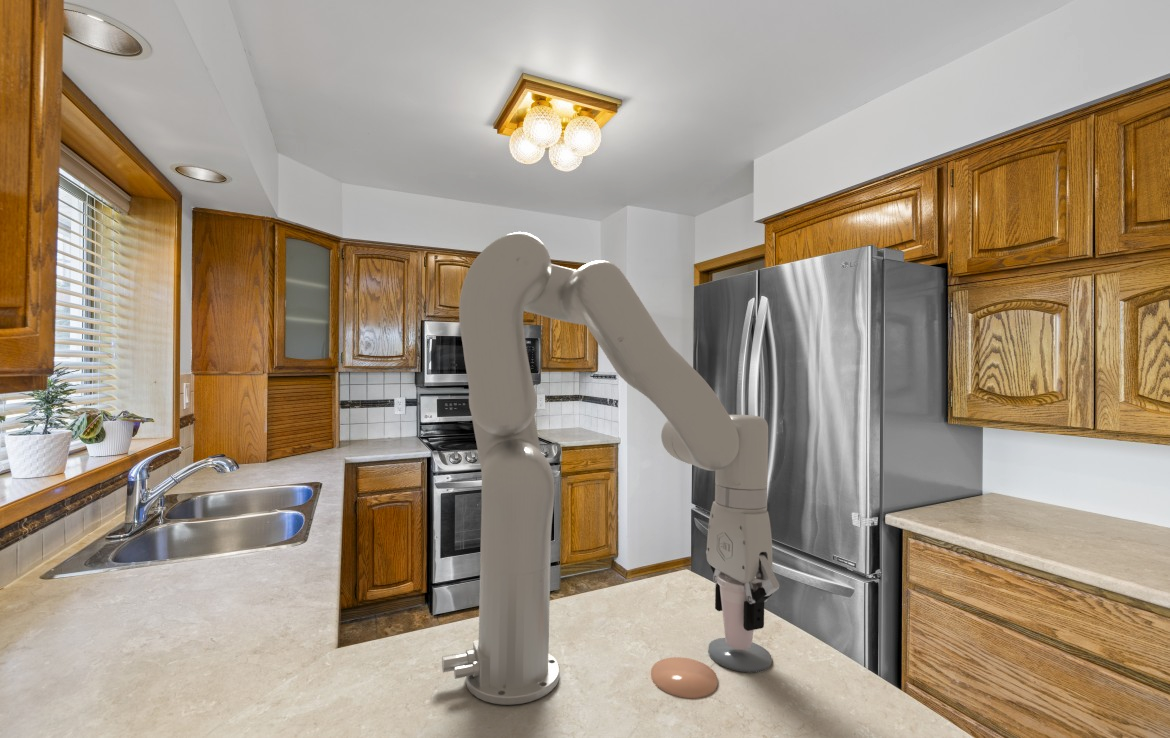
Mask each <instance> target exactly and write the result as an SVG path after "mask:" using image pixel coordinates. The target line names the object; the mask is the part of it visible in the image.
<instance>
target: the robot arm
mask: <svg viewBox="0 0 1170 738" xmlns="http://www.w3.org/2000/svg"><path fill="white" fill-rule="evenodd" d="M458 305H459V306H458V315H459V316H458V317H459V329H460V336H461V342H462V344H461V345H462V348H463V349H462V350H463V351H462V352H463V357H464V365H465V371H466V376H467V383H468V392H469V393H468V407H469V410H470V411H469V412H470V414H471V419H472V426H473V432H474V437H475V441H476V443H475V444H476V448H477V453H478V458H479V465H480V471H481V510H480V511H481V515H480V517H481V518H480V519H481V521H480V548H479V549H480V552H479V553H480V558H479V560H480V561H479V565H480V566H479V567H480V568H479V604H478V605H479V606H478V607H479V608H478V609H479V610H478V639H475V640H473V641H472V648H469V649H466V650H465V652H462V653H458V654H457V653H453V654H448V655H447V654H446V655H442V657H441V669H442V673H444V674H445V673H449V672H453V677H454V679H455V680H456V679H462V678H465V685H466V687H467V689H468V691H469V692H470V693H471V694H472V695H474V696H475V697H476V698H477V699H480V700H482V701H484V702H486V703H489V704H495V705H502V706H505V705H507V706H508V705H509V706H513V705H522V704H526V703H530V702H533V701H535V700H538V699H541V698H543V697H545V696H546V695H548V694H549V693H551V692H552V691H553V690H554V688H556V686H557V684H558V683H559V680H560V672H561V671H560V664H559V662H558V660H557V659H556V658H555V657H554V656H553V655H552V654H550V653H549V650H550V649H549V648H550V647H549V645H550V640H549V639H550V607H551V606H550V603H551V601H550V598H551V597H550V595H551V594H550V593H551V591H550V590H551V554H552V553H551V551H552V549H551V548H552V546H551V545H552V526H553V525H552V524H553V517H554V515H553V514H554V504H555V491H556V487H555V477H554V473H553V470H552V467H551V464H550V462H549V460H548V459H547V458H546V457H545V455H544V454H543V452H541V451H542V450H541V445H540V440H539V434H538V428H537V423H536V413H537V407H538V399H537V392H536V388H535V386H534V382H533V377H532V372H531V367H530V362H529V357H528V356H529V355H528V351H527V350H528V349H527V344H526V335H525V327H524V312H526V313H529V314H534V315H537V316H542V317H544V318H545V317H546V318H549V319H553V320H557V321H562V322H564V323H570V324H576V325H581V326H585V327H587V330H589V332H590V333H591V334H592V336H593V338H594V339H595V341H596V342H597V344H598V345H599V347H600V348H601V349H602V352H603V353H604V355H605V356H606V358H607V359H608V361H609V362H610V364H611V366H613V369H614V370H615V372H616V373H617V375H618V376H619V377H620V378H621V379H623V381H624V382H626V383H627V384H628V385H629V386H630V387H631V388H633V389H634V390H636V391H638V392H639V393H641V394H642V395H644V396H645V397H646V398H648V399H649V400H650V401H651V402H652V403H653V404H654V406H656V408H657V409H659V411H660V412H661V413H662V415H663V416H664V417H665V418H666V419H667V421H666V422H665V423H664V424H663V426H662V429H661V433H660V437H661V438H660V439H661V442H662V445H663V447H664V449H665V450H666V452H667V453H669V455H670V456H671V457H673V458H674V459H677V460H678V461H681V462H683V463H685V464H688V465H692V466H695V467H697V468H699V469H702V470H705V471H710V472H711V471H713V472H715V473H714V474H715V477H714V478H715V479H714V480H715V481H714V483H715V484H714V487H715V488H714V489H715V490H714V501H712V505H711V508H710V512H709V518H708V527H707V536H706V537H707V538H706V539H707V540H706V550H705V554H706V561H707V563H708V564H709V565H710V568H711V570H712V573H713V576H712V580H713V582H714V583H715V586H714V587H715V592H714V593H715V596H714V598H715V599H714V600H715V602H714V608H715V609H714V610H716V611H718V612H722V603H721V595H720V585H719V584H718V583H717V580H718V574H719V573H724V574H726V575H728V576H730V577H731V578H733V579H735V580H737V581H739V582H741V583H744V587H745V591H746V596H747V601H744V629H745V630H747V631H750V630H754V631H756V630H759V629H763V628H764V626H765V602H767V601H769V598H770V597H771V596H772V595H773V594H774V593H776V592H777V591H778V590H779V589H780V586H781V585H780V583H779V580H778V579H777V577H776V575H775V573H774V571H773V540H772V537H773V536H772V527H771V522H770V521H771V519H770V515H769V511H768V475H769V474H768V473H769V466H768V465H769V464H768V463H769V424H768V421H767V420H766V419H765V418H764V417H762V416H759V415H754V414H753V415H752V414H750V415H749V414H729V413H728V411H727V410H726V408H725V406H724V405H723V403H722V402H721V400H720V399H719V396H718V395H717V394H716V393H715V391H714V390H713V389H712V387H711V386H710V385H709V383H708V382H707V381H706V380H705V379H704V378H703V377H702V375H701V374H700V373H699V372H698V371H697V370H695V368H693V366H692V365H691V364H690V363H688V361H687V360H686V359H685V358H684V357H683V356H682V355H681V354H680V353H679V352H678V351H677V350H676V349H675V348H674V347H672V346H671V344H670V343H669V342H668V340H667V339H666V338H665V336H664V335H663V333H662V331H661V330H660V328H659V327H658V325H657V324H656V322H655V320H654V319H653V317H652V316H651V314H650V313H649V311H648V310H647V308H646V306H645V304H643V302H642V300H641V299H640V297H639V295H638V294H637V292H636V291H635V289H634V287H633V286H632V285H631V283H630V282H629V280H628V279H627V278H626V276H625V274H624V272H623V271H621V269H620V268H619V267H618V266H617V265H615V264H614V263H612V262H610V261H607V260H594V261H591V262H588V263H586V264H583V265H582V266H580V267H579V268H578V269H573V268H569V267H565V266H562V265H561V266H560V265H558V264H554V263H552V260H551V255H550V253H549V251H548V249H547V247H546V245H545V244H544V243H543V242H542V241H541V240H540V239H539V238H538V237H537V236H535V235H533V234H531V233H528V232H524V231H523V232H521V231H518V232H517V231H516V232H513V233H508V234H505V235H503V236H501V237H498V238H497V239H496V240H494V241H493V242H491V243H490V244H489V245H487V246H486V247H485V248H484V249H483V250H482V251H480V253H479V254H478V255H477V257H476V258H475V259H474V260H473V261H472V263H471V265H470V267H469V269H468V270H467V272H466V275H465V278H464V279H463V283H462V286H461V291H460V295H459V304H458ZM755 577H756V578H755ZM754 583H757V588H758V589H757V590H756V591H755V592H754V590H753V586H752V584H754Z"/></svg>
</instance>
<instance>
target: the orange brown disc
mask: <svg viewBox="0 0 1170 738" xmlns="http://www.w3.org/2000/svg"><path fill="white" fill-rule="evenodd" d="M650 678H651V681H652V680H653V681H652V682H653V684H654V683H655V684H656V685H655V684H654V685H655V686H656V687H657V686H658V687H657V688H659V689H660V690H661V689H662V690H661V691H663V692H665V693H667V694H669V695H672V696H676V697H681V698H684V699H685V698H688V699H694V698H695V699H697V698H703V697H706V696H708V695H711V694H712V693H713V692H715V690H716V689H717V687H718V680H719V679H718V676H717V674H716V672H715V671H714V669H712V668H711V667H710V666H709V665H707V664H705V663H703V662H701V661H699V660H695V659H693V658H687V657H681V656H680V657H679V656H678V657H677V656H675V657H667V658H663V659H660V660H658V661H657V662H655V663H654V664H653V665H652V666H651V670H650Z"/></svg>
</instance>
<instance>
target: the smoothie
mask: <svg viewBox="0 0 1170 738" xmlns="http://www.w3.org/2000/svg"><path fill="white" fill-rule="evenodd" d="M755 578H756V577H755ZM717 583H718V584H719V585H720V595H721V603H722V611H721V612H722V618H723V628H724V638H725V639H726V644H727V645H728V646H730V647H732V648H735V649H740V650H745V649H749V648H751V646H752V642H753V637H754V631H755V630H750V631H747V630H745V629H744V601H747V596H746V591H745V587H744V583H741V582H739V581H737V580H735V579H733V578H731V577H730V576H728V575H726V574H724V573H719V574H718V580H717ZM717 583H716V584H717ZM752 586H753V590H754V592H755V591H756V590H757V589H758V588H757V583H754V584H752Z"/></svg>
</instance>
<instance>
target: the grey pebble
mask: <svg viewBox="0 0 1170 738" xmlns="http://www.w3.org/2000/svg"><path fill="white" fill-rule="evenodd" d="M707 650H708V652H707V653H708V655H709V657H710V658H711V659H712V660H713V661H714V662H715V663H716V664H718V665H720V666H722V667H724V668H727V669H729V670H732V671H735V672H740V673H748V674H749V673H750V674H751V673H752V674H755V673H757V674H758V673H762V672H765V671H767V670H768V669H770V667H771V665H772V658H773V657H772V655H771V653H770V652H769V651H768V650H767V649H766V648H765V647H764V646H762V645H761V644H757V643H756V642H753V641H752V646H751V648H749V649H745V650H740V649H735V648H732V647H730V646H728V645H727V644H726V639H725V637H720V638H716V639H713V640H711V641H710V642H709V644H708V649H707Z"/></svg>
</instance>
